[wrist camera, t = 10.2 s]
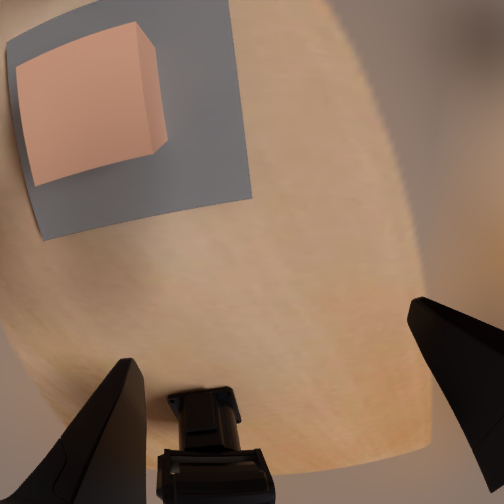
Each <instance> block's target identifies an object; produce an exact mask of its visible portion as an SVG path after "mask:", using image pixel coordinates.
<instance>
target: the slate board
mask: <svg viewBox="0 0 504 504" xmlns="http://www.w3.org/2000/svg"><path fill="white" fill-rule="evenodd" d="M135 21H136V23H137V24H138V25H139V27H140V28H141V29H142V31H143V32H144V33H145V35H146V36H147V37H148V39H149V40H150V41H151V43H152V44H153V45H154V47H155V51H156V59H157V68H158V76H159V84H160V91H161V98H162V105H163V112H164V119H165V125H166V131H167V138H168V140H167V141H166V142H165V143H164V144H163V145H162V146H161V147H160V148H159V149H158V150H157V151H156V152H155V153H154V154H150V155H146V156H141V157H137V158H133V159H129V160H124V161H120V162H116V163H112V164H108V165H105V166H101V167H97V168H94V169H90V170H86V171H83V172H80V173H76V174H73V175H69V176H66V177H63V178H60V179H57V180H54V181H50V182H47V183H44V184H41V185H39V186H36V187H35V184H34V180H33V176H32V172H31V167H30V163H29V159H28V154H27V149H26V144H25V139H24V133H23V127H22V121H21V114H20V107H19V98H18V89H17V77H16V67H17V66H19V65H21V64H23V63H25V62H27V61H29V60H31V59H33V58H35V57H37V56H39V55H42V54H44V53H46V52H48V51H50V50H53V49H55V48H57V47H60V46H62V45H65V44H67V43H70V42H72V41H75V40H77V39H80V38H83V37H86V36H88V35H91V34H94V33H97V32H100V31H103V30H107V29H110V28H113V27H117V26H120V25H124V24H127V23H131V22H135ZM7 70H8V84H9V95H10V104H11V112H12V119H13V125H14V131H15V137H16V142H17V147H18V152H19V157H20V162H21V166H22V170H23V174H24V178H25V182H26V186H27V190H28V193H29V197H30V200H31V204H32V207H33V210H34V214H35V217H36V220H37V223H38V226H39V229H40V232H41V235H42V237H43V240H44V241H46V240H50V239H54V238H58V237H62V236H66V235H70V234H74V233H78V232H82V231H87V230H91V229H95V228H100V227H104V226H108V225H113V224H118V223H122V222H127V221H132V220H136V219H141V218H146V217H151V216H156V215H161V214H166V213H171V212H177V211H182V210H187V209H193V208H198V207H204V206H210V205H216V204H221V203H227V202H233V201H240V200H246V199H252V191H251V183H250V174H249V166H248V157H247V149H246V141H245V132H244V124H243V116H242V108H241V100H240V91H239V83H238V75H237V67H236V59H235V51H234V43H233V35H232V28H231V20H230V12H229V4H228V0H99V1H96V2H93V3H90V4H88V5H85V6H82V7H79V8H77V9H74V10H72V11H69V12H67V13H64V14H62V15H60V16H57V17H55V18H53V19H51V20H49V21H46V22H44V23H42V24H40V25H38V26H36V27H34V28H32V29H30V30H28V31H26V32H24V33H23V34H21V35H19V36H17V37H15V38H13V39H12V40H10V41H8V42H7Z"/></svg>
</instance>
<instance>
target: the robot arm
mask: <svg viewBox="0 0 504 504" xmlns="http://www.w3.org/2000/svg"><path fill="white" fill-rule="evenodd" d="M407 322H408V326H409V328H410V330H411V332H412V334H413V336H414V338H415V340H416V342H417V345H418V347H419V349H420V351H421V353H422V355H423V357H424V359H425V361H426V363H427V365H428V367H429V368H430V370H431V372H432V374H433V375H434V377H435V379H436V381H437V382H438V384H439V386H440V388H441V390H442V391H443V393H444V395H445V397H446V399H447V401H448V403H449V405H450V406H451V408H452V410H453V412H454V414H455V416H456V418H457V420H458V422H459V424H460V426H461V428H462V430H463V432H464V434H465V436H466V438H467V440H468V443H469V445H470V447H471V449H472V451H473V454H474V456H475V458H476V460H477V462H478V465H479V467H480V469H481V472H482V474H483V476H484V479H485V481H486V484H487V486H488V489H489V491H490V492H491V493H493V492H494V491H496V490H497V489H498V488H500V487H501V486H503V485H504V331H503V330H501V329H499V328H496V327H494V326H492V325H489V324H487V323H485V322H482V321H480V320H478V319H476V318H473V317H471V316H469V315H466V314H464V313H461V312H459V311H457V310H454V309H452V308H450V307H447V306H445V305H442V304H440V303H437V302H435V301H433V300H430V299H428V298H425V297H418V298H415V299H413V300H412V301H411V304H410V308H409V313H408V317H407ZM167 402H168V404H169V405H170V407H171V409H172V411H173V412H174V414H175V416H176V417H177V419H178V421H179V450H170V449H164V454H163V455H160V456H158V472H157V489H156V494H157V496H158V497H159V498H160V499H161V500H162V501H163V504H275V486H274V482H273V479H272V476H271V474H270V472H269V469H268V467H267V464H266V462H265V459H264V457H263V454H262V451H261V449H260V448H259V449H254V450H241V448H240V442H239V436H238V431H237V425H236V424H238V423H240V422H241V416H240V413H239V409H238V406H237V402H236V399H235V395H234V392H233V389H232V388H222V389H216V390H209V391H202V392H195V393H187V394H178V395H170V396H168V397H167ZM146 432H147V422H146V407H145V390H144V378H143V375H142V373H141V371H140V369H139V368H138V366H137V364H136V362H135V360H134V359H133V358H123V359H120V360H119V361H118V362H117V363H116V365H115V366H114V367H113V368H112V370H111V371H110V372H109V374H108V375H107V376H106V377H105V379H104V380H103V381H102V383H101V384H100V385H99V386H98V388H97V389H96V390H95V392H94V393H93V394H92V396H91V397H90V398H89V399H88V401H87V402H86V403H85V405H84V406H83V407H82V409H81V410H80V411H79V413H78V414H77V415H76V417H75V418H74V419H73V421H72V422H71V423H70V425H69V426H68V427H67V429H66V430H65V432H64V433H63V434H62V435H61V438H59V439H58V441H57V442H56V444H55V445H54V446H53V448H52V449H51V450H50V451H49V453H48V454H47V455H46V457H45V458H44V459H43V460H42V462H41V463H40V464H39V465H38V466H37V467H36V469H35V470H34V471H33V472H32V473H31V474H30V475H29V476H28V478H27V479H26V480H25V481H24V482H23V483H22V484H21V486H20V487H19V488H18V489H17V490H16V491H15V492H14V493H13V494H12V495H10V496H9V497H7V498H6V499H3V500H0V504H146ZM172 473H175V474H172Z"/></svg>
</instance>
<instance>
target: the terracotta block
mask: <svg viewBox="0 0 504 504" xmlns="http://www.w3.org/2000/svg"><path fill="white" fill-rule="evenodd" d="M16 77H17V89H18V98H19V107H20V114H21V121H22V127H23V133H24V139H25V144H26V149H27V154H28V159H29V163H30V167H31V172H32V176H33V180H34V184H35V187H36V186H39V185H41V184H44V183H47V182H50V181H54V180H57V179H60V178H63V177H66V176H69V175H73V174H76V173H80V172H83V171H86V170H90V169H94V168H97V167H101V166H105V165H108V164H112V163H116V162H120V161H124V160H129V159H133V158H137V157H141V156H146V155H150V154H154V153H155V152H156V151H157V150H158V149H159V148H160V147H161V146H162V145H163V144H164V143H165V142H166V141H167V140H168V138H167V131H166V125H165V119H164V112H163V105H162V98H161V91H160V84H159V76H158V68H157V59H156V51H155V47H154V45H153V44H152V43H151V41H150V40H149V39H148V37H147V36H146V35H145V33H144V32H143V31H142V29H141V28H140V27H139V25H138V24H137V23H136V21H135V22H131V23H127V24H124V25H120V26H117V27H113V28H110V29H107V30H103V31H100V32H97V33H94V34H91V35H88V36H86V37H83V38H80V39H77V40H75V41H72V42H70V43H67V44H65V45H62V46H60V47H57V48H55V49H53V50H50V51H48V52H46V53H44V54H42V55H39V56H37V57H35V58H33V59H31V60H29V61H27V62H25V63H23V64H21V65H19V66H17V67H16Z"/></svg>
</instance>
